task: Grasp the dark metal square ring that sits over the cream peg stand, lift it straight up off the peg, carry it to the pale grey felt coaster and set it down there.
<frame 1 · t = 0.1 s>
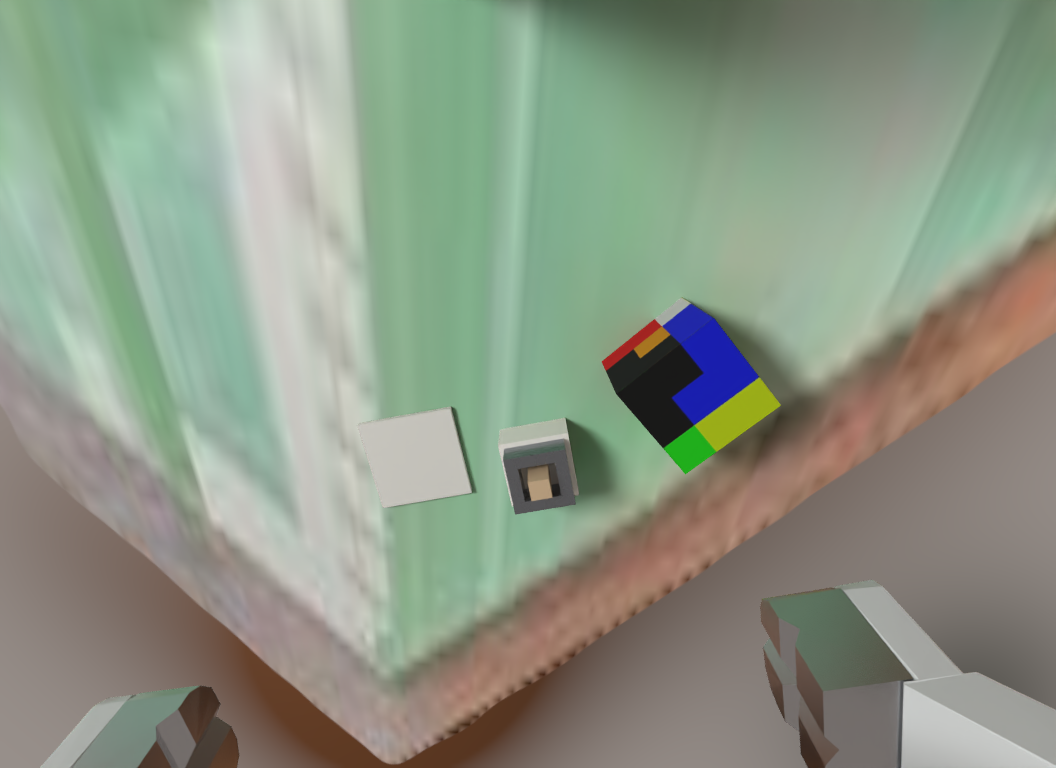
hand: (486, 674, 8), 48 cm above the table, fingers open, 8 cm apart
peg stand: (538, 453, 60), on the table
puzzle toy: (670, 365, 57), on the table
ring: (539, 470, 56), point 4 cm above the table, touching peg stand
coaster: (416, 457, 60), on the table
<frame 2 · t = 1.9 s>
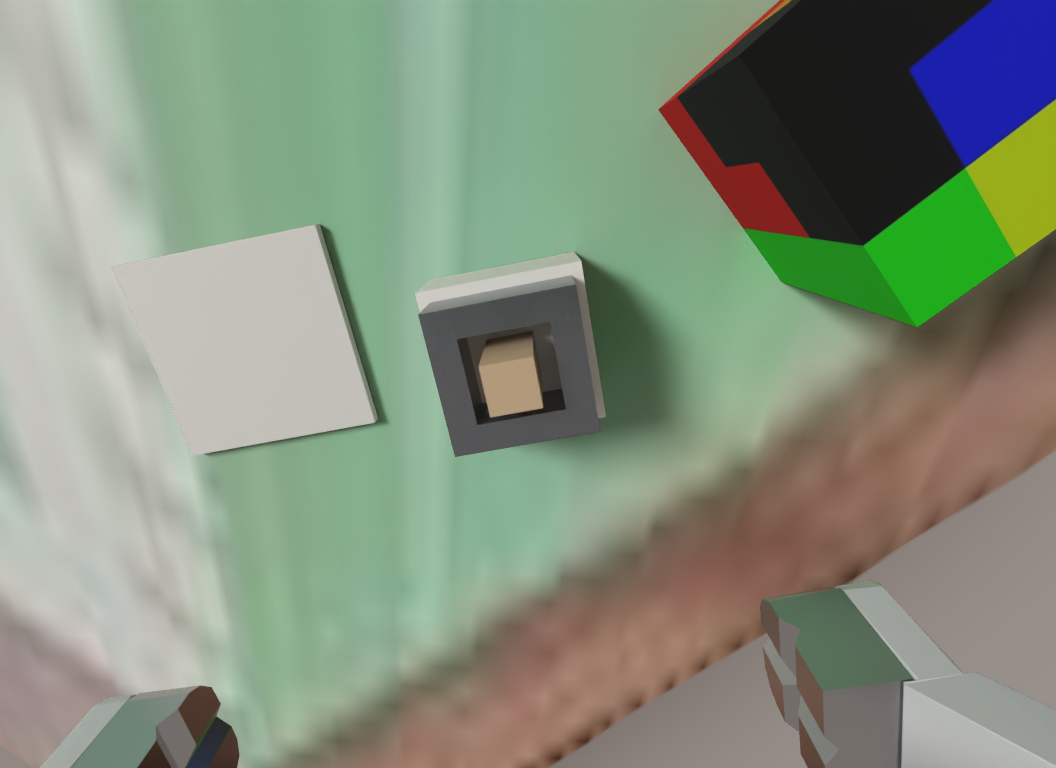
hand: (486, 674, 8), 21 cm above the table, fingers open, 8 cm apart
peg stand: (516, 335, 28), on the table
puzzle toy: (813, 123, 25), on the table
ring: (514, 357, 24), point 4 cm above the table, touching peg stand
coaster: (255, 345, 28), on the table
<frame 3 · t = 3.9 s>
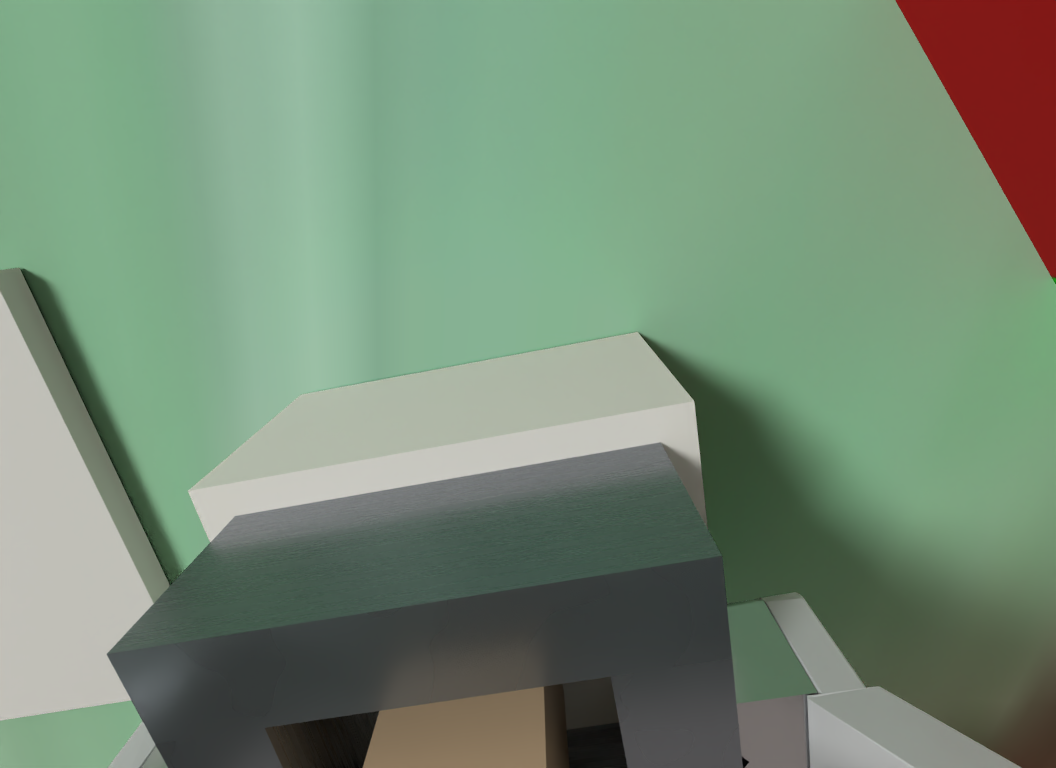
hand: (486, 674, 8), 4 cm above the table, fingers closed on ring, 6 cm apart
peg stand: (501, 512, 12), on the table
ring: (488, 651, 9), point 4 cm above the table, touching gripper, peg stand
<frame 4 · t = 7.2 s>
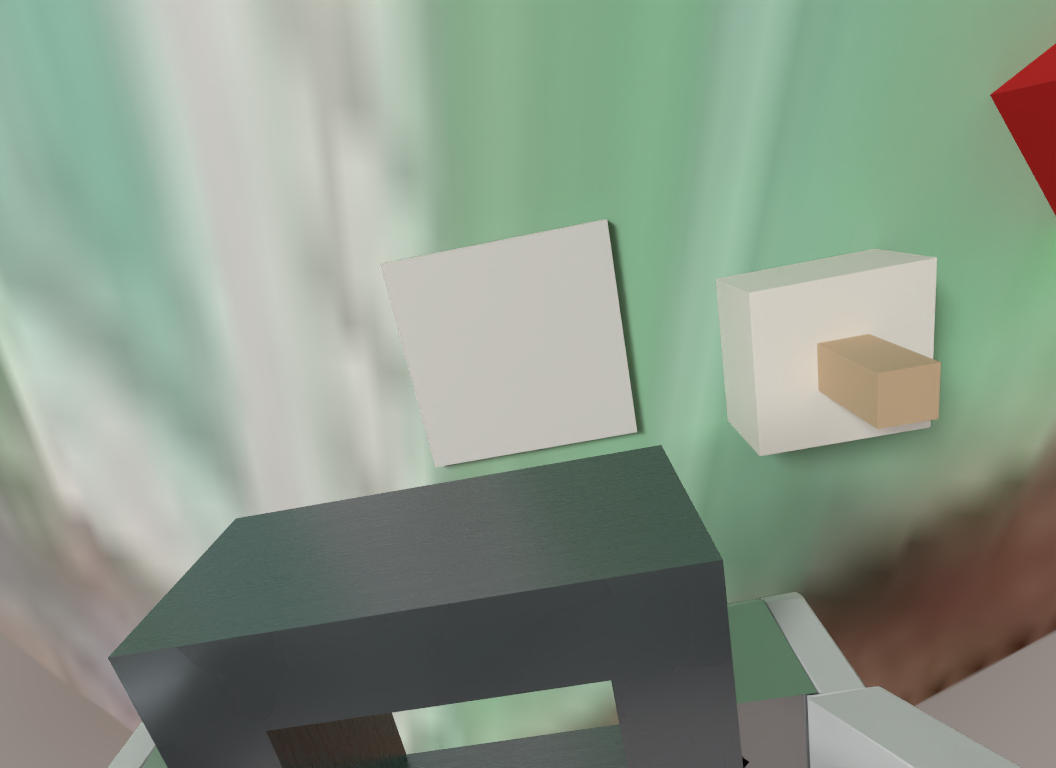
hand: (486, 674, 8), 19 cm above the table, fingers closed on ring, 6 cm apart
peg stand: (797, 338, 26), on the table
ring: (489, 653, 9), point 18 cm above the table, touching gripper
coaster: (515, 348, 26), on the table
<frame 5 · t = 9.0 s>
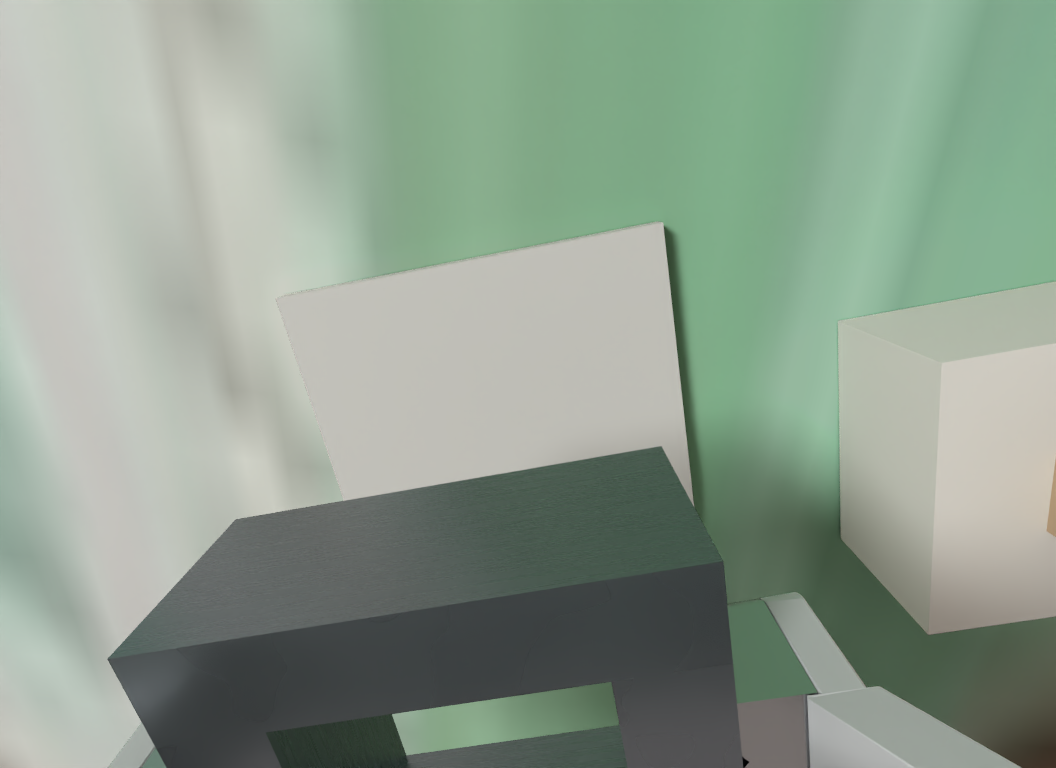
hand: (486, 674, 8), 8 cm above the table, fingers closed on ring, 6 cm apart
peg stand: (963, 416, 16), on the table
ring: (489, 654, 9), point 8 cm above the table, touching gripper
coaster: (505, 431, 16), on the table
when the fingers open (2 cm above the table, at t = 10.7 s): ring drops 1 cm, resting on coaster.
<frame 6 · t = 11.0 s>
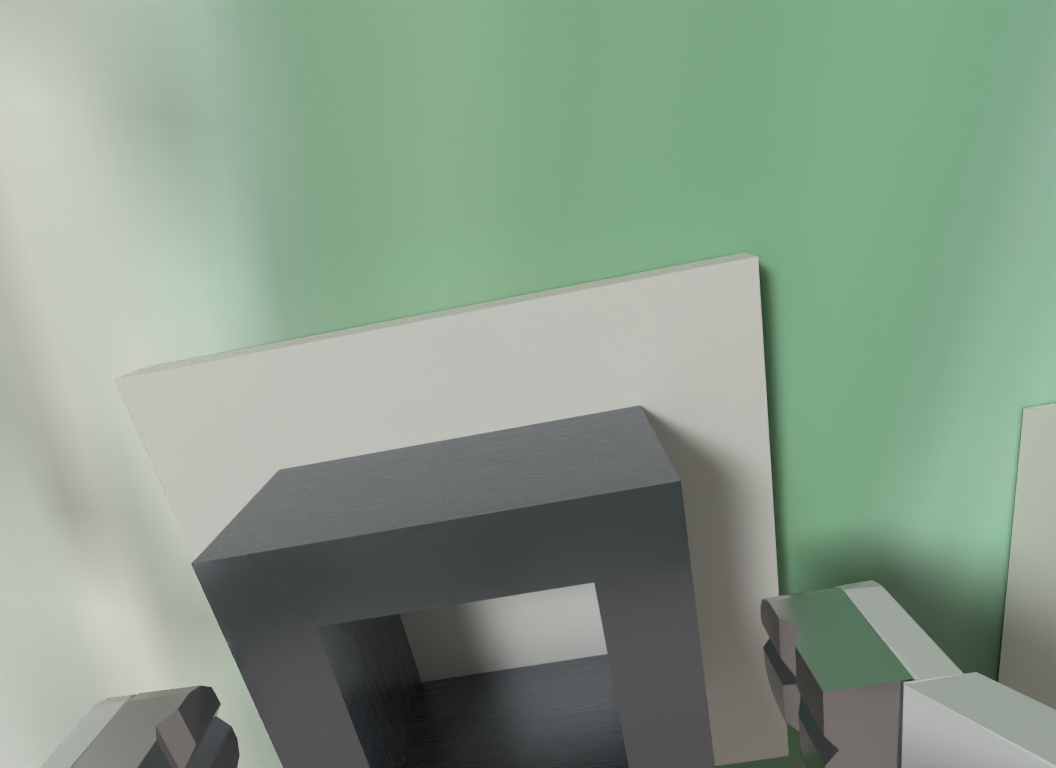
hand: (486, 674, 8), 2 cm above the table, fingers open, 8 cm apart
ring: (494, 589, 10), point 1 cm above the table, touching coaster
coaster: (495, 570, 10), on the table
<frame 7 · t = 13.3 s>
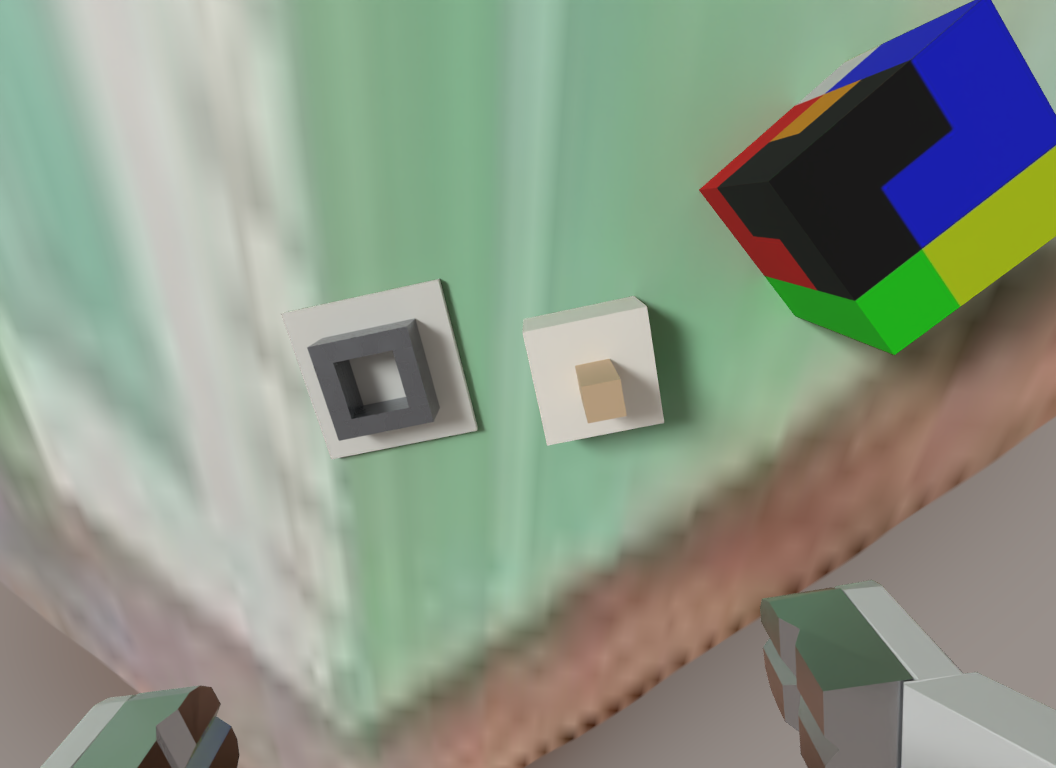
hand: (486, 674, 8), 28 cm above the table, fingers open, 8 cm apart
peg stand: (588, 360, 36), on the table
puzzle toy: (816, 196, 33), on the table
ring: (382, 373, 35), point 1 cm above the table, touching coaster
coaster: (384, 371, 36), on the table
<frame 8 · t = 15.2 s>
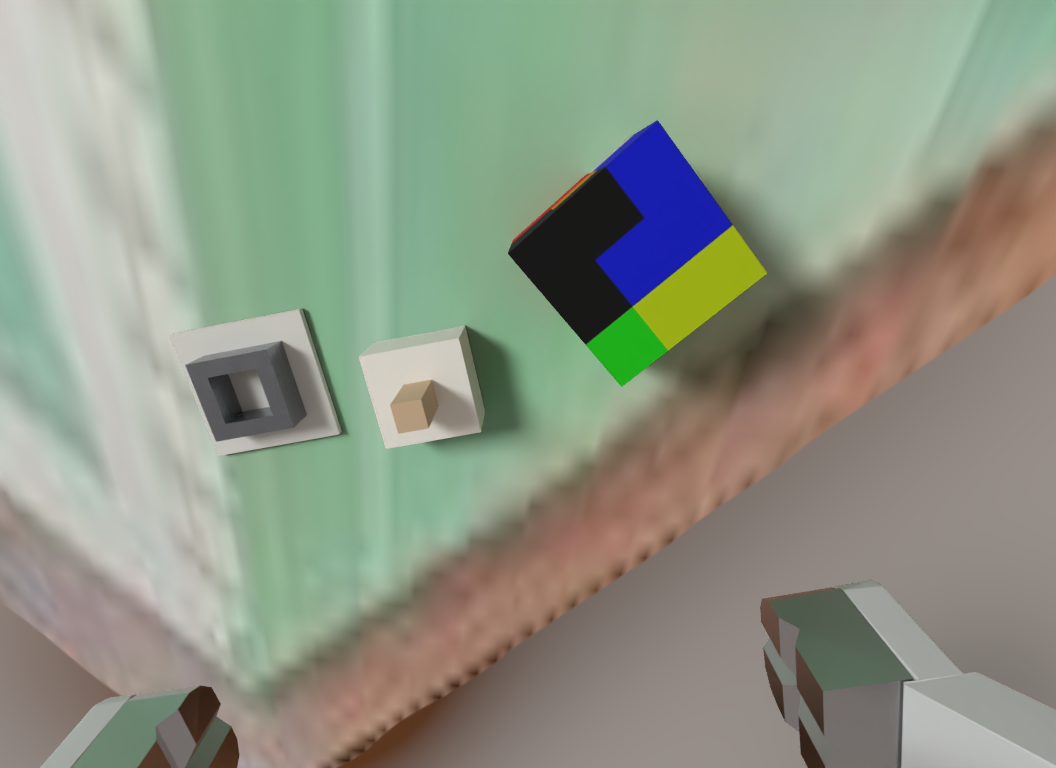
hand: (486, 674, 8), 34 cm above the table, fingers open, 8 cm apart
peg stand: (430, 377, 43), on the table
puzzle toy: (611, 247, 40), on the table
ring: (256, 385, 42), point 1 cm above the table, touching coaster
coaster: (260, 383, 43), on the table
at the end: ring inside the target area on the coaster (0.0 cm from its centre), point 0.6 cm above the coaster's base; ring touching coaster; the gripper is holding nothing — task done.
